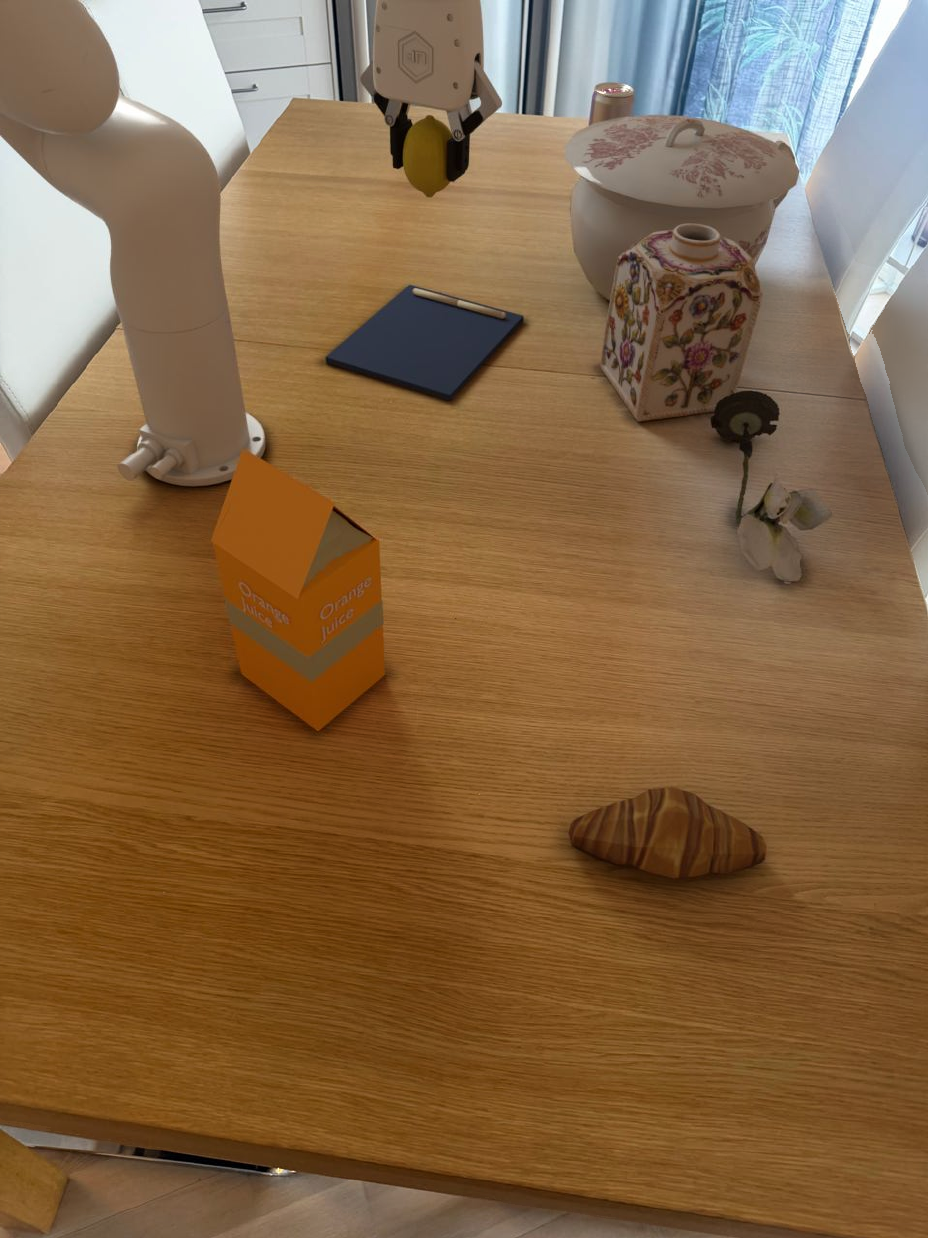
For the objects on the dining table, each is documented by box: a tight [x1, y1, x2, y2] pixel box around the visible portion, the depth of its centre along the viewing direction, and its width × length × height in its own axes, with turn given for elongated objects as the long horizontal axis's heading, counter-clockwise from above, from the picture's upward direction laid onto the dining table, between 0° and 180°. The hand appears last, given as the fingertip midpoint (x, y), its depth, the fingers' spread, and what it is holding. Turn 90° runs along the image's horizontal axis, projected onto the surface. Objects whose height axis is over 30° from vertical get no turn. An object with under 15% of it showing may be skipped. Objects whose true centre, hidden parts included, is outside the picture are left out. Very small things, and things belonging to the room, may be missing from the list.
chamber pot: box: [564, 114, 800, 302], centre depth 113 cm, size 28×28×21 cm
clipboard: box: [325, 284, 525, 402], centre depth 110 cm, size 20×16×2 cm
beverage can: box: [588, 81, 635, 126], centre depth 135 cm, size 6×6×15 cm
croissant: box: [568, 786, 767, 879], centre depth 63 cm, size 14×7×5 cm, turn 85°
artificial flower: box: [710, 390, 834, 585], centre depth 88 cm, size 9×22×10 cm, turn 171°
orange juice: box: [210, 448, 386, 732], centre depth 67 cm, size 8×9×20 cm
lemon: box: [402, 114, 452, 198], centre depth 95 cm, size 6×6×8 cm
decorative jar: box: [600, 224, 763, 423], centre depth 98 cm, size 12×12×18 cm
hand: (429, 168), depth 96 cm, fingers closed on lemon, 5 cm apart
